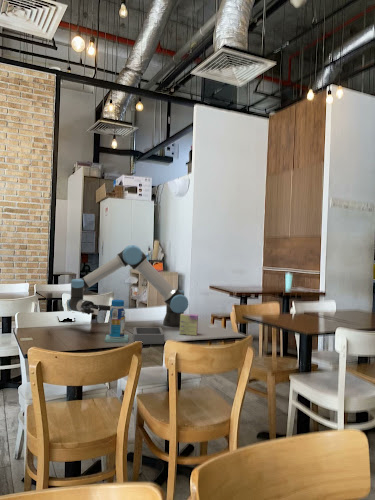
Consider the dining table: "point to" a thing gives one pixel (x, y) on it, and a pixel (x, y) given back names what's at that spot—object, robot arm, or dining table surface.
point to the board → (116, 339)
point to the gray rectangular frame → (148, 335)
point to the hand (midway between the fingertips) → (108, 311)
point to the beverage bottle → (117, 319)
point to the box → (189, 324)
